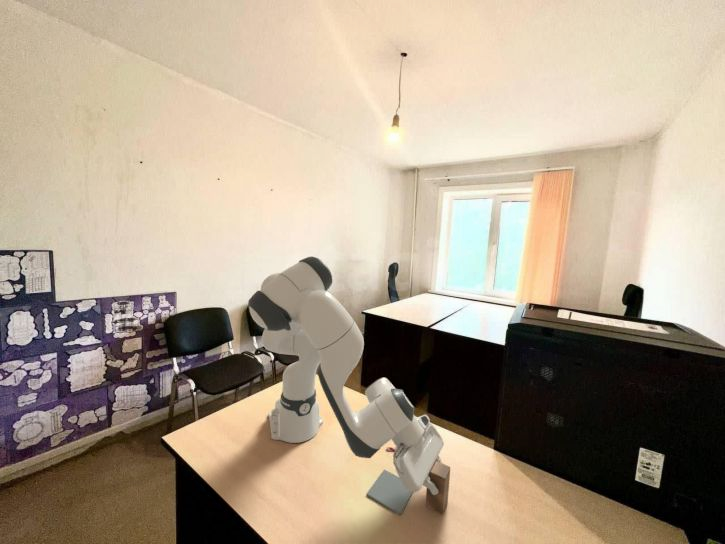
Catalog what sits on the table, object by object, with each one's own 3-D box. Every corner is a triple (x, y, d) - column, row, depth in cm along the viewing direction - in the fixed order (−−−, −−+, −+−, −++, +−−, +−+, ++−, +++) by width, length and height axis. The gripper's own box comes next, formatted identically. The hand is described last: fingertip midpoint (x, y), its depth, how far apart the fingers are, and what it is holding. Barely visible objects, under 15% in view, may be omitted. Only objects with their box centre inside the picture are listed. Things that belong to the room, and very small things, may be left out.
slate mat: (366, 495, 77) (366, 493, 77) (384, 470, 86) (384, 469, 86) (400, 515, 72) (400, 513, 72) (415, 487, 80) (415, 485, 80)
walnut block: (425, 505, 75) (427, 470, 74) (431, 493, 79) (433, 459, 78) (442, 514, 73) (445, 478, 71) (447, 501, 76) (450, 467, 75)
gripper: (399, 453, 69) (436, 512, 65) (428, 412, 86) (459, 456, 82) (382, 462, 72) (416, 518, 67) (414, 420, 89) (443, 463, 85)
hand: (440, 484), depth 75 cm, fingers closed on walnut block, 4 cm apart
